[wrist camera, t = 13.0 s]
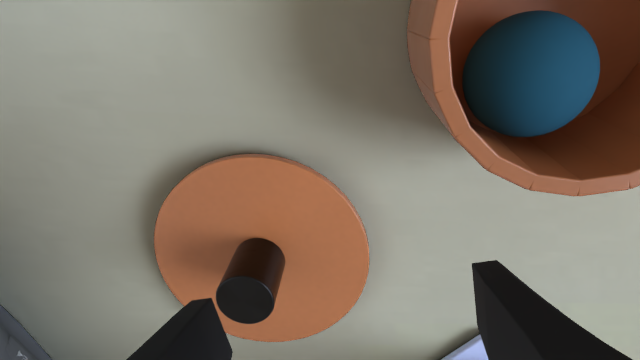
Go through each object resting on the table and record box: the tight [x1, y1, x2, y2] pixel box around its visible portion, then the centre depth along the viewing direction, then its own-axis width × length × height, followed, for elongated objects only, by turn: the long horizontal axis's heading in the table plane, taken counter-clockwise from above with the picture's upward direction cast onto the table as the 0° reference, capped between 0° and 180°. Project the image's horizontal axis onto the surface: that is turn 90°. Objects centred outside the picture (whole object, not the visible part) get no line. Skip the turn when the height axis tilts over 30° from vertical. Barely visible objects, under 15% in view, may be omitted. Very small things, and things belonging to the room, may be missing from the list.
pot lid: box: [154, 154, 369, 342], centre depth 20 cm, size 11×11×4 cm
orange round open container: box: [407, 0, 640, 196], centre depth 14 cm, size 10×10×6 cm
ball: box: [462, 10, 600, 137], centre depth 15 cm, size 4×4×4 cm
